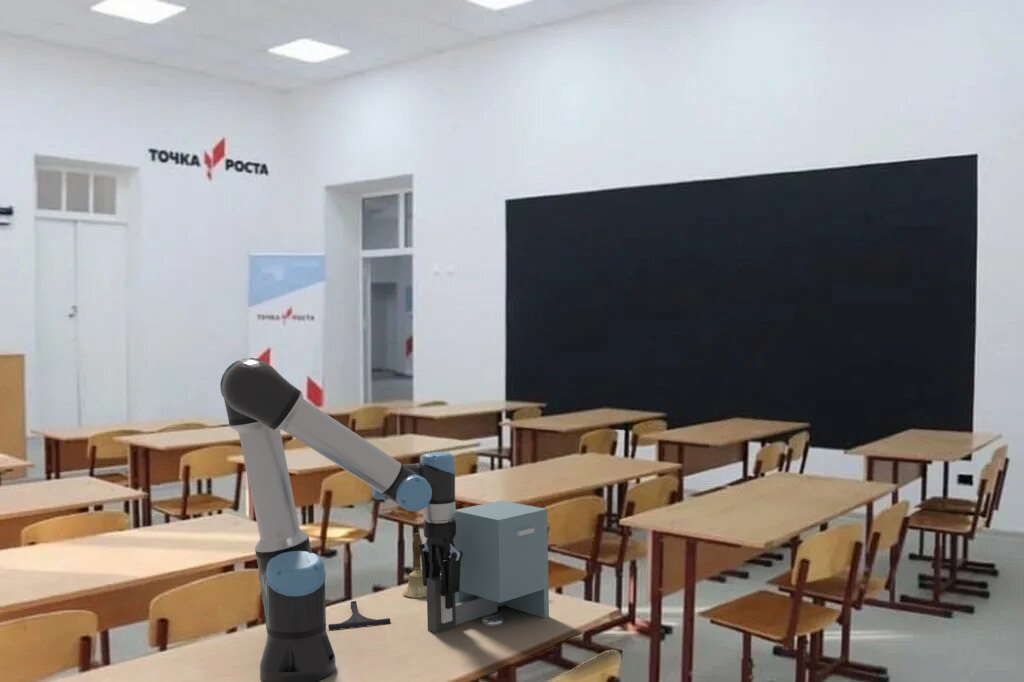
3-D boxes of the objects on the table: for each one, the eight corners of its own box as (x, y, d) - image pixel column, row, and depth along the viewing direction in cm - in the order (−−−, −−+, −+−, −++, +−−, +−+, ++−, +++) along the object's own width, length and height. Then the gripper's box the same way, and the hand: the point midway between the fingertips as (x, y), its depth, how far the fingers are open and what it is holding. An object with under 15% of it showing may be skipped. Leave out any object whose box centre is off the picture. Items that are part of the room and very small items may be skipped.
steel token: (492, 628, 210) (492, 623, 210) (477, 623, 214) (477, 618, 214) (507, 623, 214) (507, 618, 214) (492, 618, 217) (492, 613, 217)
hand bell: (398, 591, 240) (397, 532, 239) (428, 587, 243) (427, 528, 243) (407, 600, 232) (406, 538, 232) (438, 595, 235) (437, 535, 235)
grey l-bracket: (435, 633, 207) (434, 581, 207) (427, 630, 209) (426, 578, 209) (499, 612, 221) (498, 563, 221) (491, 609, 223) (490, 561, 223)
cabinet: (503, 634, 205) (501, 520, 205) (455, 617, 218) (453, 510, 217) (552, 617, 216) (550, 509, 216) (503, 602, 229) (501, 500, 228)
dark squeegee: (381, 607, 229) (381, 596, 229) (390, 626, 214) (390, 614, 214) (324, 614, 225) (323, 603, 225) (329, 633, 210) (328, 621, 210)
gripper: (474, 521, 206) (476, 623, 207) (430, 512, 218) (432, 608, 218) (449, 527, 201) (451, 632, 202) (405, 517, 213) (407, 616, 213)
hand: (441, 619), depth 210 cm, fingers closed on grey l-bracket, 3 cm apart
